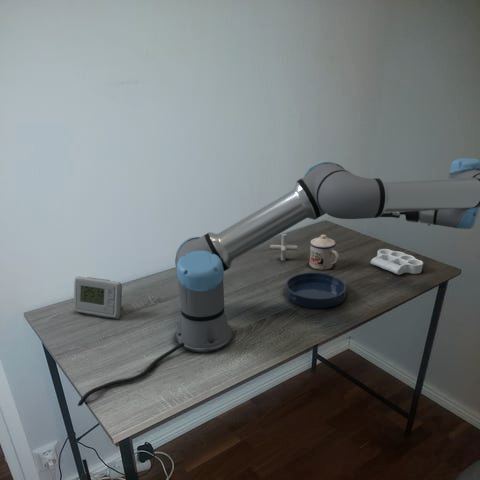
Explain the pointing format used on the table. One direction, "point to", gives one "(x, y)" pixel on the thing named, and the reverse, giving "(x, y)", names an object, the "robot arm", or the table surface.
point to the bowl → (315, 290)
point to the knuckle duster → (397, 262)
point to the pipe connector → (283, 247)
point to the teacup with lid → (322, 253)
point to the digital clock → (97, 297)
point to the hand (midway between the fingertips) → (354, 202)
